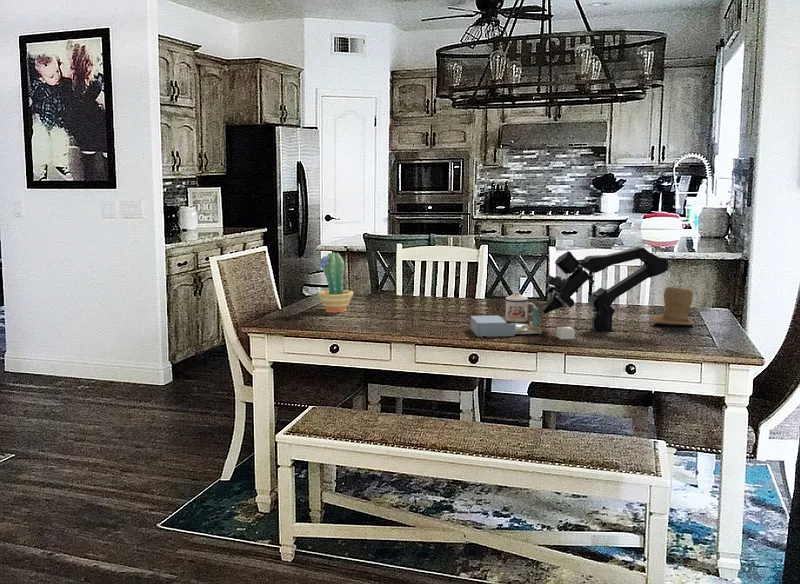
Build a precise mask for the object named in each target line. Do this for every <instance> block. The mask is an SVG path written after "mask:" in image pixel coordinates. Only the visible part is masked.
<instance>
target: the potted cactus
mask: <svg viewBox="0 0 800 584" xmlns="http://www.w3.org/2000/svg"><path fill="white" fill-rule="evenodd" d="M318 265H319V270H323V274H324V276H325V279H326V282H327V287H328V289H327V290H322V291H318V292H317V295H318V298H320V299H321V303H322V304H323V307H324V308H325V312H326V313H331V312H332V314H333V313H335V314H336V313H337V312H340V313H345V312H347V308H348V306H349V304H350V302H351V300H352V297H354V291H352V290H348V289H347V290H346V289H344V283H343V280H344V279H343V277H344V273H345V261H344V259H343V257H342V256H341V255H340V253H339V252H328V254H327V255H325V256H323V257H321V258H320V261H319V264H318ZM344 311H345V312H344Z"/></svg>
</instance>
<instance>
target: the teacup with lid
mask: <svg viewBox="0 0 800 584" xmlns="http://www.w3.org/2000/svg"><path fill="white" fill-rule="evenodd" d="M504 300H505V317H506V322H509V323H525V322H527V321H528V316H533V310H532V311H531V312H528V310H529V309H528V306H529V305H531V306H532V307H536V305H535V304H534V303H533V302H529V298H528V297H527V296H524V295H522V294H521V293H520V291H514V293H512V294H511V295H510V296H506V297H505V299H504Z"/></svg>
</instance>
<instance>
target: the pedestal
mask: <svg viewBox="0 0 800 584" xmlns="http://www.w3.org/2000/svg"><path fill="white" fill-rule="evenodd" d="M555 336H556V338H558V339H559V340H574V339H575V328H573V327H572V326H556V335H555Z"/></svg>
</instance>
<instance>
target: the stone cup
mask: <svg viewBox="0 0 800 584" xmlns="http://www.w3.org/2000/svg"><path fill="white" fill-rule="evenodd" d="M693 296H694V295H693V291H692V289H690V288H683V287H676V286H668V285H667V286H666V287H665V290H664V293H663V301H664V302H663V303H664V313H662V314H657V315H656V314H655V315H654V316H653V317H652V324H654V325H660V324H661V325H662V326H663V325H664V326H693V325H694V323H695V322H694V320H692V319H691V318H689V314H688V313H689V310H690V308H691V306H692V302H693Z"/></svg>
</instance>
